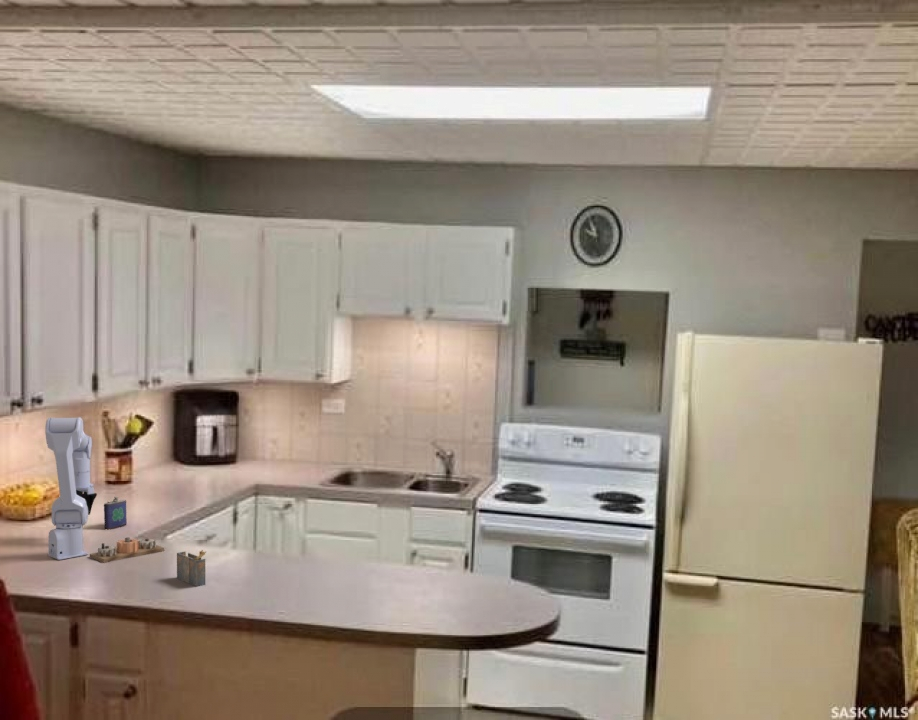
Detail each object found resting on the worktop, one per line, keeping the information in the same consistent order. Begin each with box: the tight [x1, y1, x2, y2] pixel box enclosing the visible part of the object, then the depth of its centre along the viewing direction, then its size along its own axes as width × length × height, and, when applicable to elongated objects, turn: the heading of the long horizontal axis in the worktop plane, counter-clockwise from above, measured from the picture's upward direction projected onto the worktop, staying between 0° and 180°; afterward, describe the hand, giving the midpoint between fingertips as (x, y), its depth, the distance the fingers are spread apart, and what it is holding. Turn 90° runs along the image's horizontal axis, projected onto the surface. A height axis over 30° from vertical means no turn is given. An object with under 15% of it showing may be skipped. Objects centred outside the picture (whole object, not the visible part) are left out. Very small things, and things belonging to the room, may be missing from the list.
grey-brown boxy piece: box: [176, 549, 207, 587], centre depth 265 cm, size 11×3×10 cm, turn 44°
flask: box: [103, 496, 128, 531], centre depth 330 cm, size 9×3×11 cm, turn 152°
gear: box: [116, 538, 139, 553], centre depth 294 cm, size 6×6×3 cm
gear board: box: [89, 537, 165, 563], centre depth 294 cm, size 20×9×5 cm, turn 137°
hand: (81, 513), depth 309 cm, fingers open, 7 cm apart
